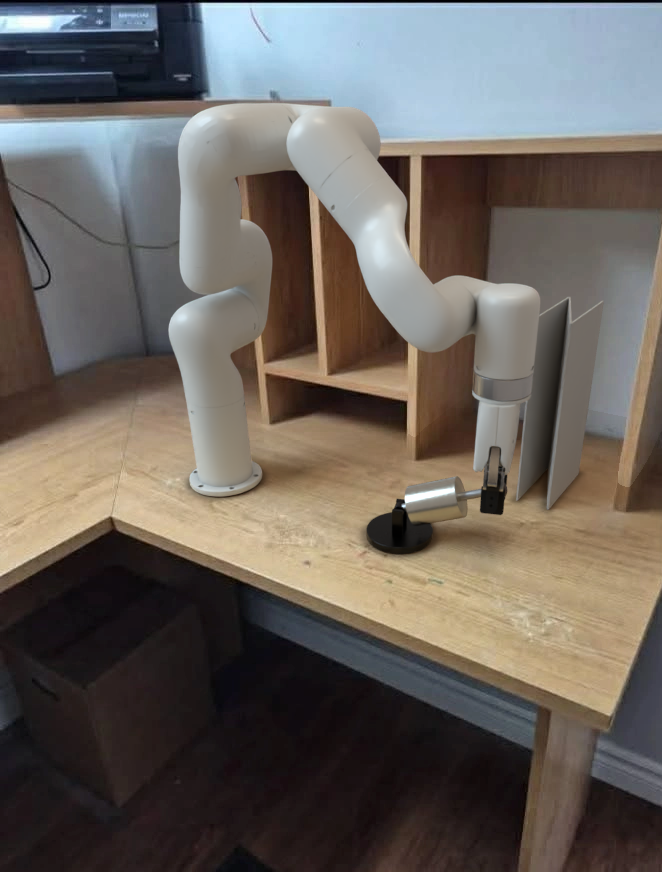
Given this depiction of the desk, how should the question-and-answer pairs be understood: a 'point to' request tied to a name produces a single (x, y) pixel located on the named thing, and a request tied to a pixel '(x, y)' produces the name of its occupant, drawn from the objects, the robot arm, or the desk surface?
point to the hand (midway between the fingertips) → (492, 504)
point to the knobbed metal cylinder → (437, 501)
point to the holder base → (398, 533)
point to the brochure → (558, 398)
